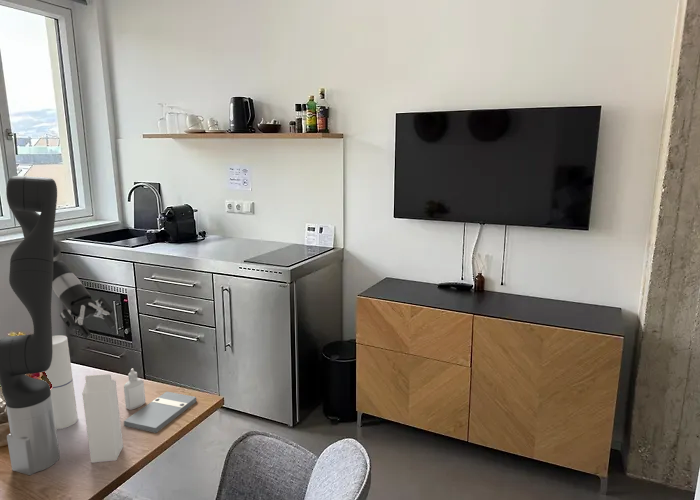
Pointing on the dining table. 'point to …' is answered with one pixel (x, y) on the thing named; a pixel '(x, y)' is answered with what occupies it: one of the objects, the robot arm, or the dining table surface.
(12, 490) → the dining table surface
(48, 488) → the dining table surface
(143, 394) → the eye dropper bottle
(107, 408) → the milk
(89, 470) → the dining table surface
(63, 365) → the cylindrical container
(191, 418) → the dining table surface
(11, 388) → the robot arm
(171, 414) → the floor panel
